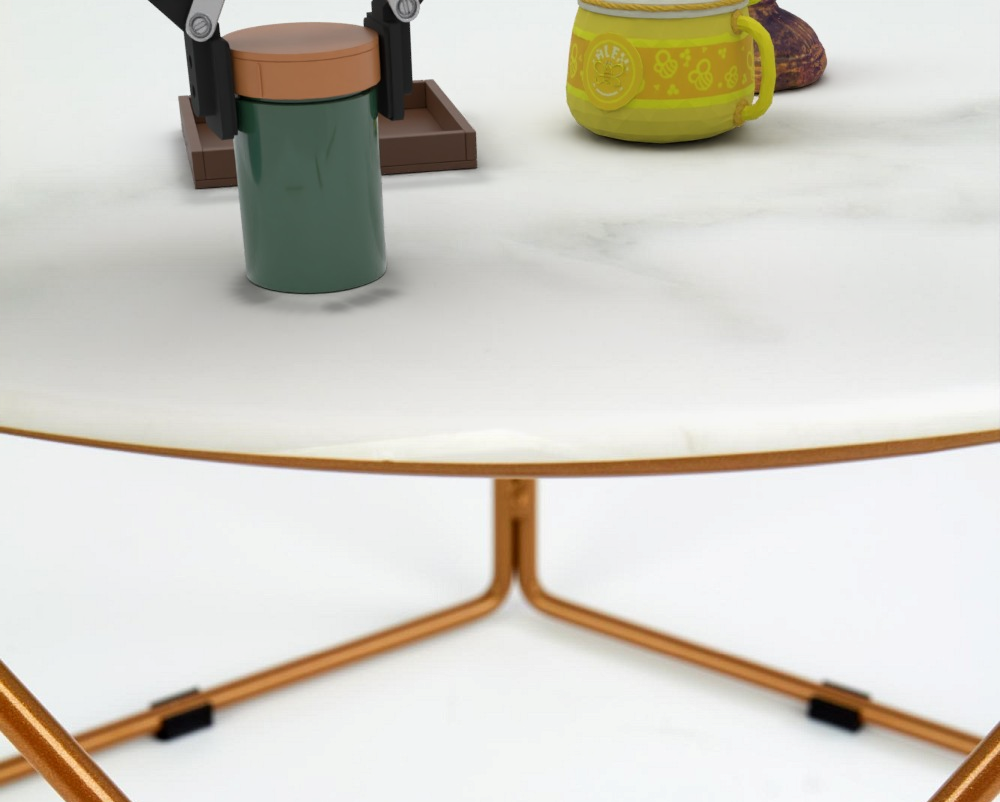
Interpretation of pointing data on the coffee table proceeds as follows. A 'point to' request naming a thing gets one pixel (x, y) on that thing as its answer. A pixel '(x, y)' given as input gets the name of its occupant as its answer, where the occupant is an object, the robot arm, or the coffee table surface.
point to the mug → (667, 68)
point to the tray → (403, 143)
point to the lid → (304, 60)
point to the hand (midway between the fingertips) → (305, 119)
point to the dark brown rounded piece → (788, 47)
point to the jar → (311, 191)
